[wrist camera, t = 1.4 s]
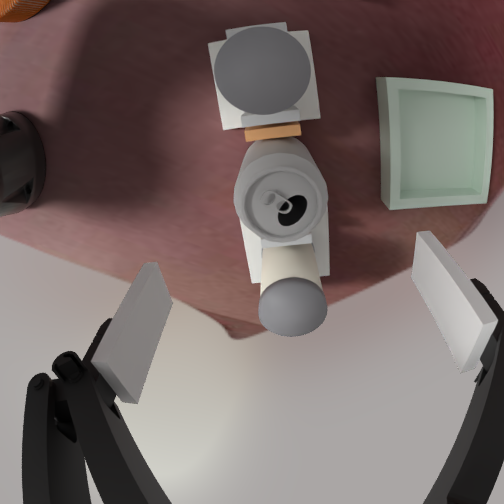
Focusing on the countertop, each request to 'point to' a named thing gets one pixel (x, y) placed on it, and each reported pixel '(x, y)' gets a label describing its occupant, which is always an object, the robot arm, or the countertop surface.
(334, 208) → the countertop surface
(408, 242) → the countertop surface
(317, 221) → the can
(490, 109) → the tray
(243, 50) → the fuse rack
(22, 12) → the coil
